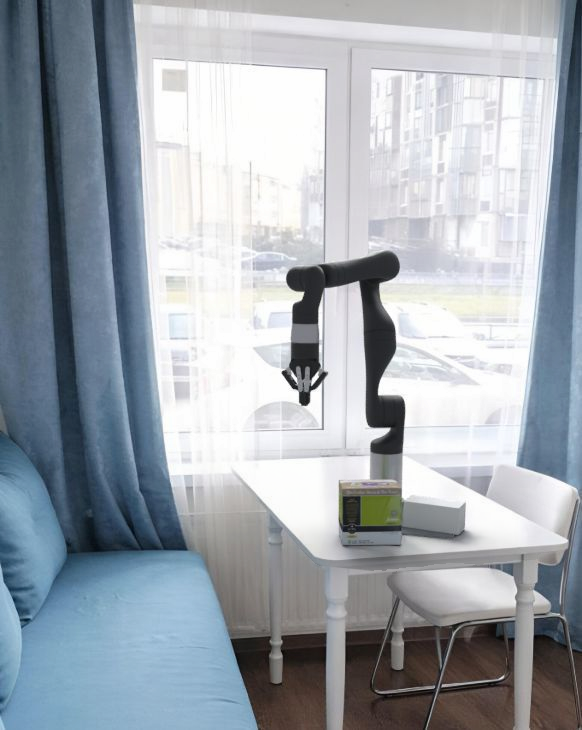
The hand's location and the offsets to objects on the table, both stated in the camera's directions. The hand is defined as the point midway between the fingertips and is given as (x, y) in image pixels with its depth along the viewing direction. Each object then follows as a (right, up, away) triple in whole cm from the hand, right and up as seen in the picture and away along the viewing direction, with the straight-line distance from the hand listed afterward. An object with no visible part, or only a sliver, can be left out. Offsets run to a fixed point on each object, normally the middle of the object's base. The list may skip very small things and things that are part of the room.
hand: (304, 405), depth 221 cm
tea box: (+16, -34, -11) cm, 39 cm away
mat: (+30, -33, -2) cm, 44 cm away
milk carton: (+41, -29, -5) cm, 51 cm away
